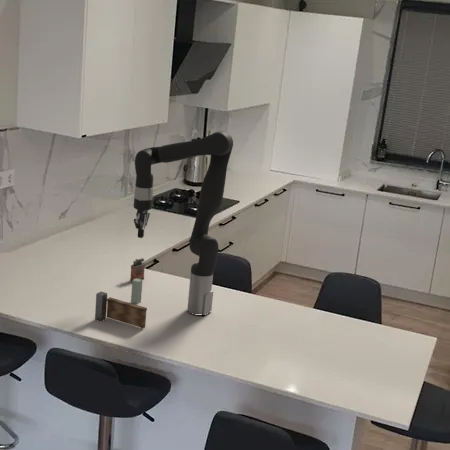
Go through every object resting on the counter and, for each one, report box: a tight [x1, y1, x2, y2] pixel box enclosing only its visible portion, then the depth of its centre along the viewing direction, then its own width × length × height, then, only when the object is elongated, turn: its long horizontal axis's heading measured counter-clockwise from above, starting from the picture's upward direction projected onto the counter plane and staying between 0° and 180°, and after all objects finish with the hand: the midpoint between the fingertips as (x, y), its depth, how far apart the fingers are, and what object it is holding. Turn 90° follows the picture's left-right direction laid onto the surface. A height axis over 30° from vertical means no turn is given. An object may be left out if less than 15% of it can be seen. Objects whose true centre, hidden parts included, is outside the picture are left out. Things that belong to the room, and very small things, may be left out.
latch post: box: [130, 278, 143, 305], centre depth 291 cm, size 3×3×10 cm
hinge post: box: [94, 291, 108, 322], centre depth 270 cm, size 3×3×11 cm
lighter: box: [129, 257, 146, 283], centre depth 316 cm, size 8×3×10 cm, turn 143°
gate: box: [106, 297, 148, 329], centre depth 270 cm, size 17×2×8 cm, turn 65°
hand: (140, 237), depth 290 cm, fingers closed
